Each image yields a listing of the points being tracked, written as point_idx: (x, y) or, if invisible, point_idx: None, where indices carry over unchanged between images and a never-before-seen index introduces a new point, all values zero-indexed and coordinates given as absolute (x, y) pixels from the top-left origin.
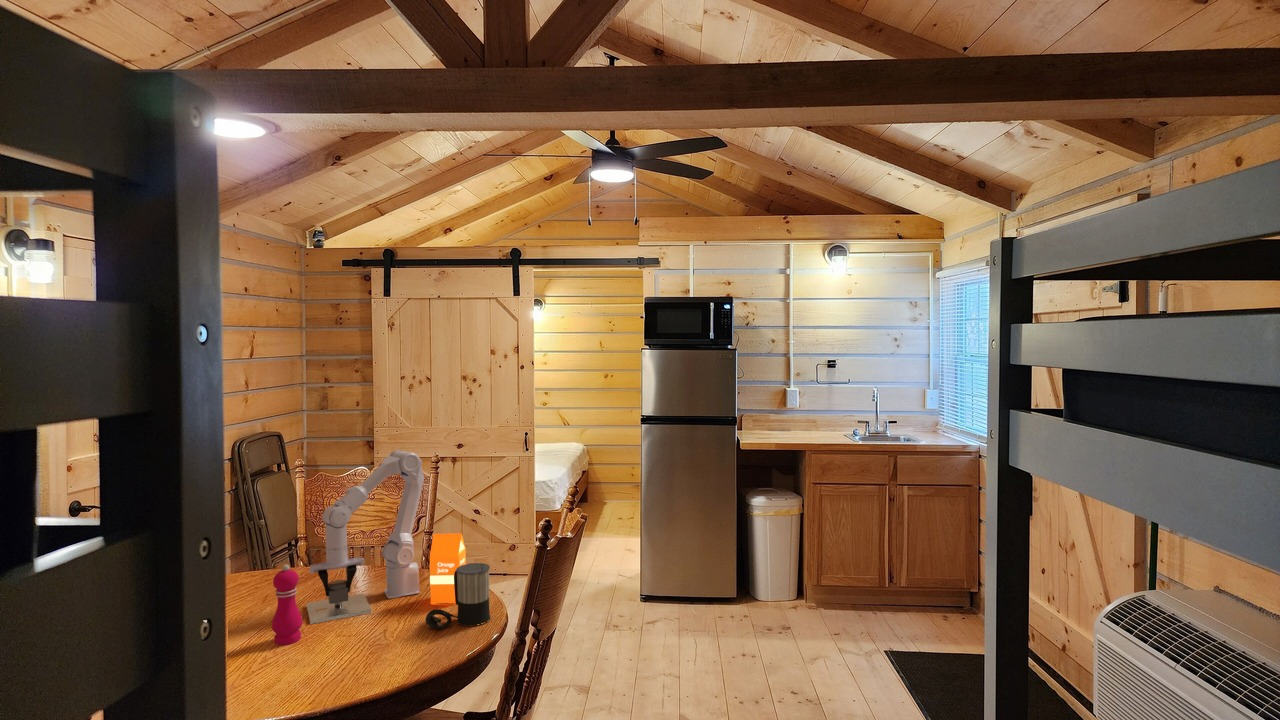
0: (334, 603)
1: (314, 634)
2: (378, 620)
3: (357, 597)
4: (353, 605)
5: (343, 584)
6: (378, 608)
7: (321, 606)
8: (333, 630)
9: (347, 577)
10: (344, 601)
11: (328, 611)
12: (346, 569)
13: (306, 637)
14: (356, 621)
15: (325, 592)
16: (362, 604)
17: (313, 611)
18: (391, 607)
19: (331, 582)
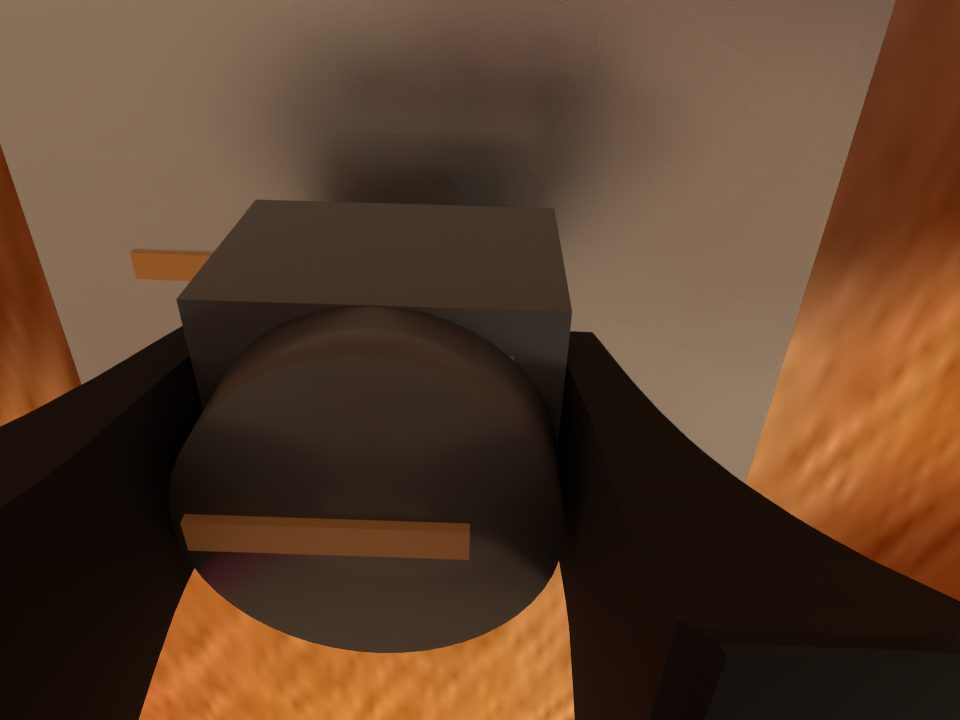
0: (379, 121)
1: (214, 678)
2: None
3: (761, 24)
4: None
5: (471, 632)
6: (825, 453)
7: (193, 149)
8: (349, 680)
9: (584, 637)
10: (529, 116)
11: None
12: (639, 660)
13: (163, 694)
14: (538, 622)
15: (176, 333)
16: (704, 376)
17: (111, 293)
18: (940, 492)
19: (232, 450)
